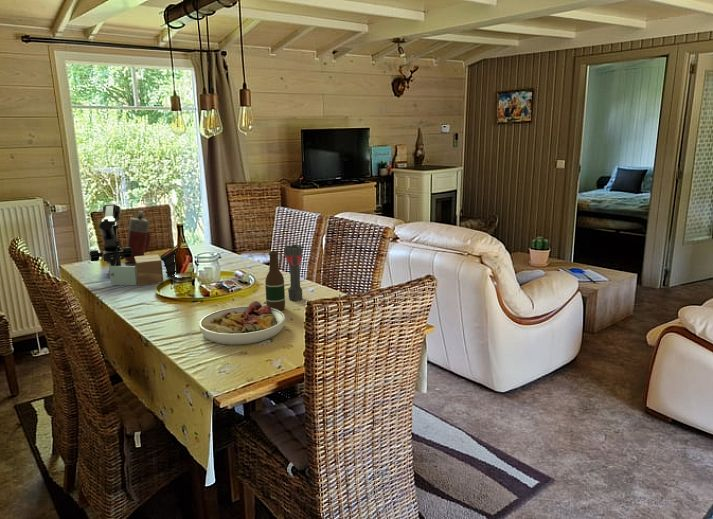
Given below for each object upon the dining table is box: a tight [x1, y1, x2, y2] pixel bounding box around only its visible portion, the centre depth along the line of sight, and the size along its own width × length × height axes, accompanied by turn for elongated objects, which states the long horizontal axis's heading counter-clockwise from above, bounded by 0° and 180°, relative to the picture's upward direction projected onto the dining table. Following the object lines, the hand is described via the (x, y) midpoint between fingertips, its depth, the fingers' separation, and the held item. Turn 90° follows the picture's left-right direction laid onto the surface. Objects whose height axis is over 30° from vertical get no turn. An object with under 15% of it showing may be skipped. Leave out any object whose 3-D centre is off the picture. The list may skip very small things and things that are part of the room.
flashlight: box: [283, 244, 303, 302], centre depth 230 cm, size 8×8×23 cm
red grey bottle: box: [124, 210, 151, 263], centre depth 300 cm, size 9×11×28 cm
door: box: [108, 265, 139, 286], centre depth 253 cm, size 13×2×9 cm, turn 84°
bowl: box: [198, 300, 286, 346], centre depth 193 cm, size 30×30×8 cm
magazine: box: [159, 245, 177, 278], centre depth 272 cm, size 4×13×15 cm, turn 131°
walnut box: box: [134, 254, 164, 286], centre depth 262 cm, size 15×11×11 cm
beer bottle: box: [264, 250, 286, 312], centre depth 215 cm, size 8×8×24 cm
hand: (113, 268), depth 258 cm, fingers closed
